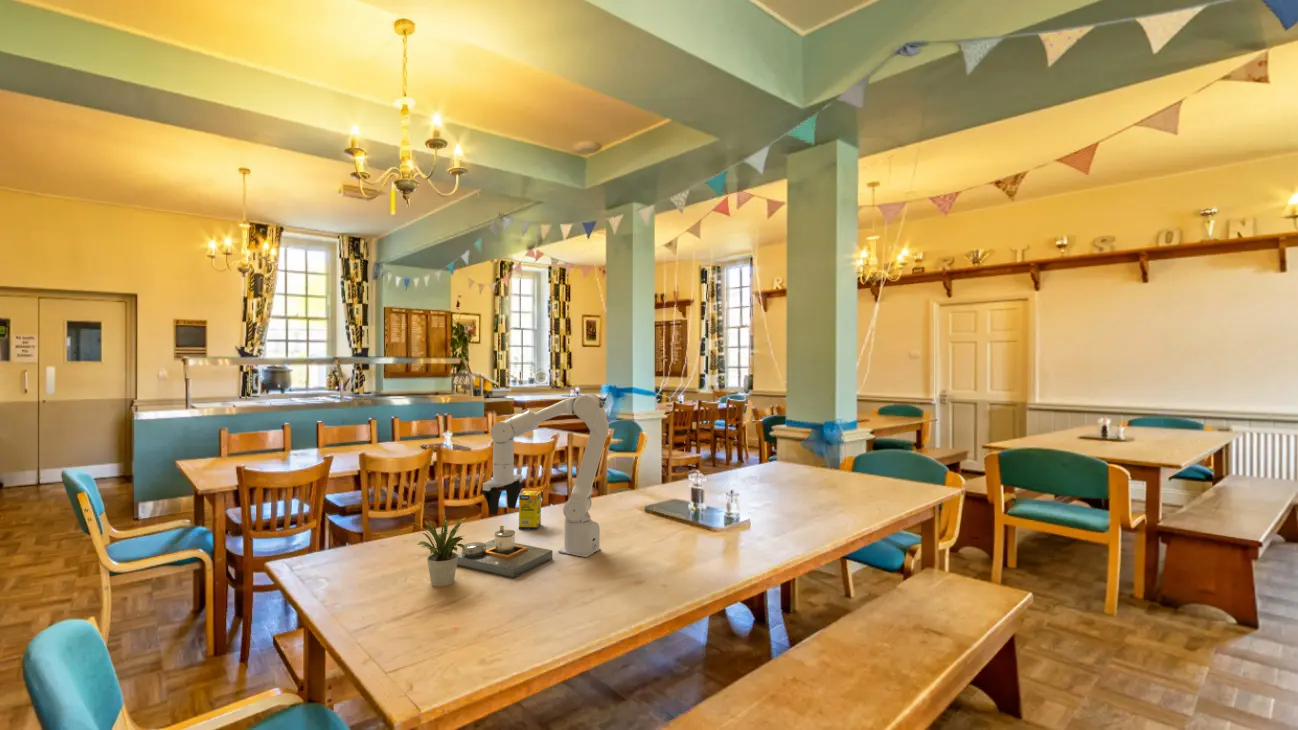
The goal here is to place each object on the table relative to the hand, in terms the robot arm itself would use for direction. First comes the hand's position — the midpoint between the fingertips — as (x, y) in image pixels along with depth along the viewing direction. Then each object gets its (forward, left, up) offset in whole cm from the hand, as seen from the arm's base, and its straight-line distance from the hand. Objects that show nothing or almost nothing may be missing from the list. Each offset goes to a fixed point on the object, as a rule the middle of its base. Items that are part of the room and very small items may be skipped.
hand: (502, 511), depth 167 cm
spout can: (-8, +8, -10) cm, 15 cm away
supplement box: (+6, -20, -11) cm, 23 cm away
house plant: (-4, +28, -11) cm, 30 cm away
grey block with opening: (-8, +9, -10) cm, 16 cm away
